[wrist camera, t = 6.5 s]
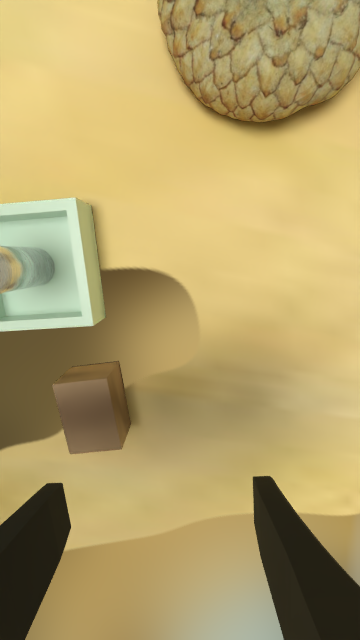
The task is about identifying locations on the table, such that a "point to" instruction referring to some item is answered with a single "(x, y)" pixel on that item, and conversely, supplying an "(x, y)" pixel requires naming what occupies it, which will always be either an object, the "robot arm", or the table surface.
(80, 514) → the table surface
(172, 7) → the acorn cap
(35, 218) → the tray
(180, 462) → the table surface
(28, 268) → the pin
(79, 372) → the brown rectangular block
